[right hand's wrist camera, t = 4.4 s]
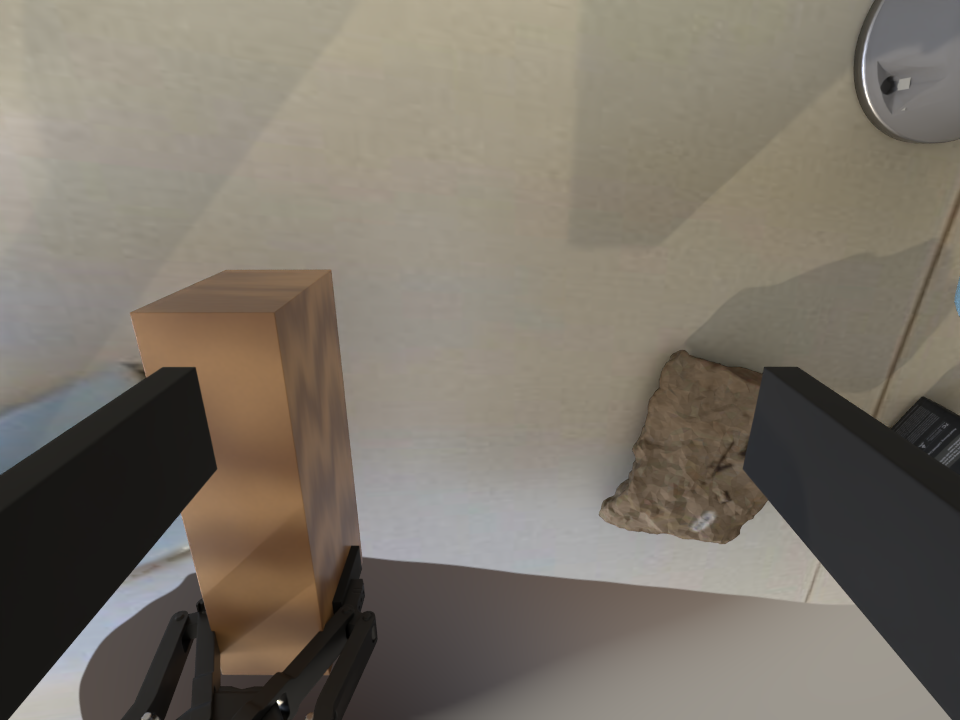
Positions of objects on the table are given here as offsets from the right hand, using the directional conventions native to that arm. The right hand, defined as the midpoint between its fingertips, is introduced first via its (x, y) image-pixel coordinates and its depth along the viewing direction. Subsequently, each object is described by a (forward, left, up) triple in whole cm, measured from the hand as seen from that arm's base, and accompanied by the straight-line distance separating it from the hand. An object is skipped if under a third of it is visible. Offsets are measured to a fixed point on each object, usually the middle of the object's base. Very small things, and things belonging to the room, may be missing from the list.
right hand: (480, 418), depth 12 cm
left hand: (+8, +32, -27) cm, 43 cm away
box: (+11, +21, -30) cm, 39 cm away
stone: (-28, +17, -40) cm, 51 cm away
